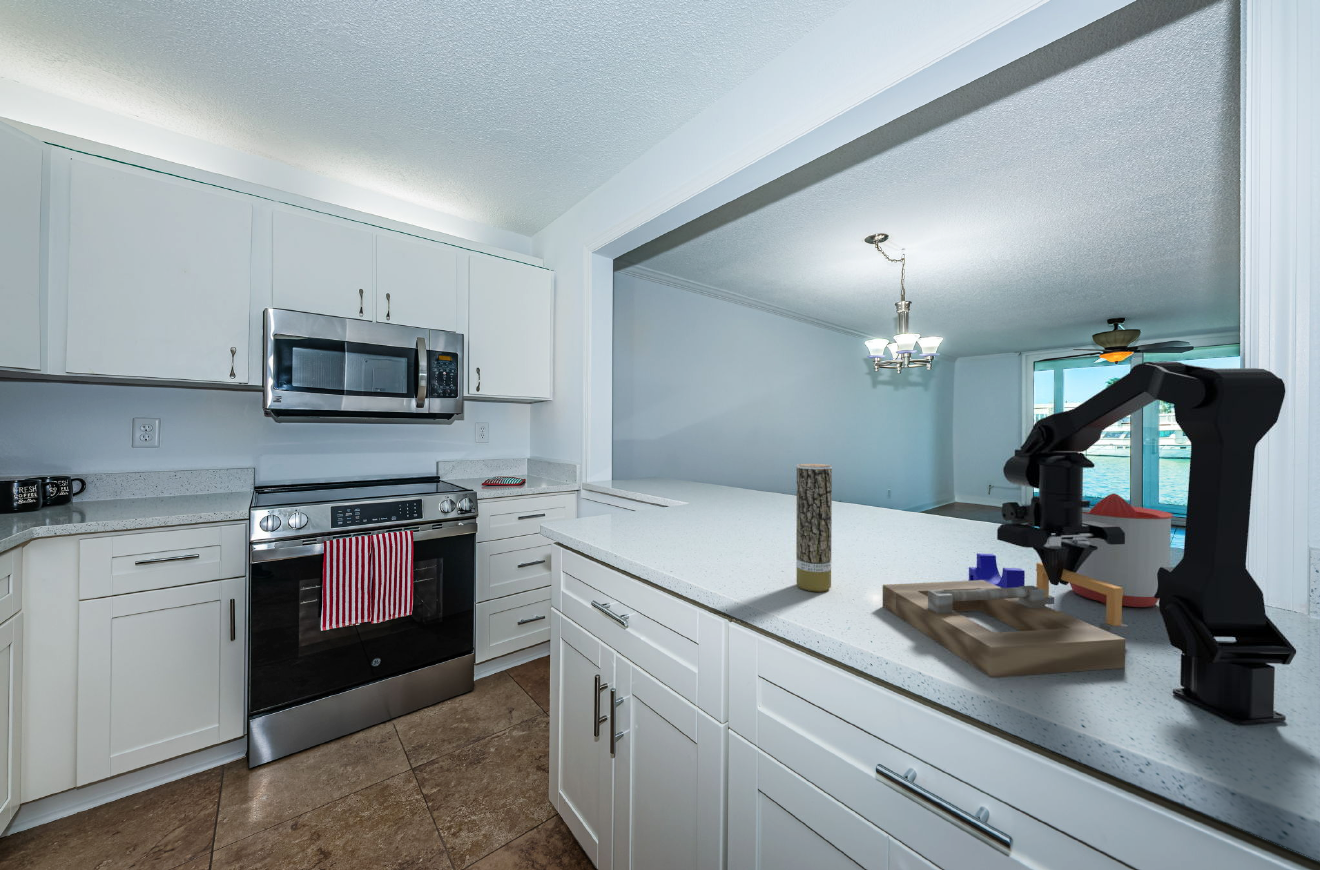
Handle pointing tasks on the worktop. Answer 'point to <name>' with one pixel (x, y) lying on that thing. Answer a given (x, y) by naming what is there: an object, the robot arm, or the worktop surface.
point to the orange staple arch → (1110, 590)
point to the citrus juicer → (1128, 551)
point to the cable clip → (996, 573)
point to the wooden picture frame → (1032, 650)
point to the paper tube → (814, 526)
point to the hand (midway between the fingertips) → (1058, 584)
